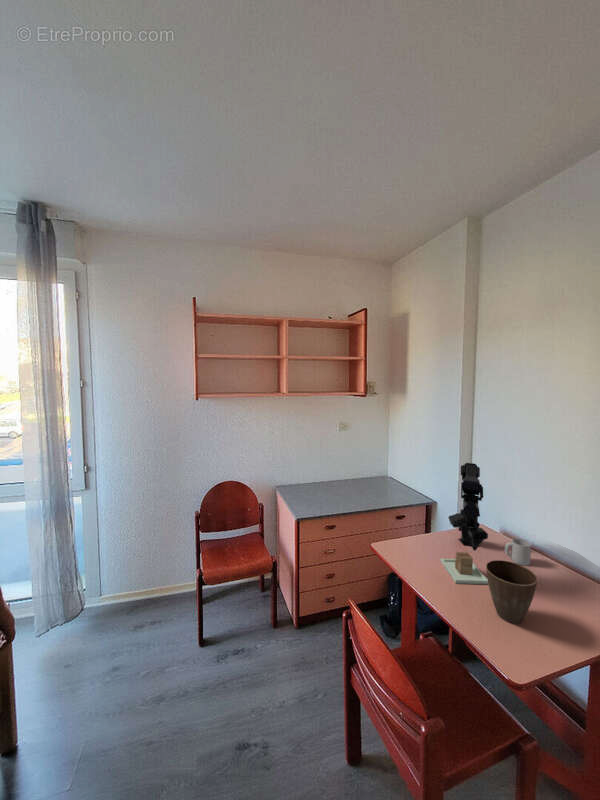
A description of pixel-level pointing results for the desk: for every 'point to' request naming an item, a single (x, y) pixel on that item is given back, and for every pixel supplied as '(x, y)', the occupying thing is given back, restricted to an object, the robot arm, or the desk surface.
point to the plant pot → (511, 589)
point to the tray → (463, 578)
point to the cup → (519, 551)
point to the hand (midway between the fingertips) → (469, 544)
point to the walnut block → (463, 563)
